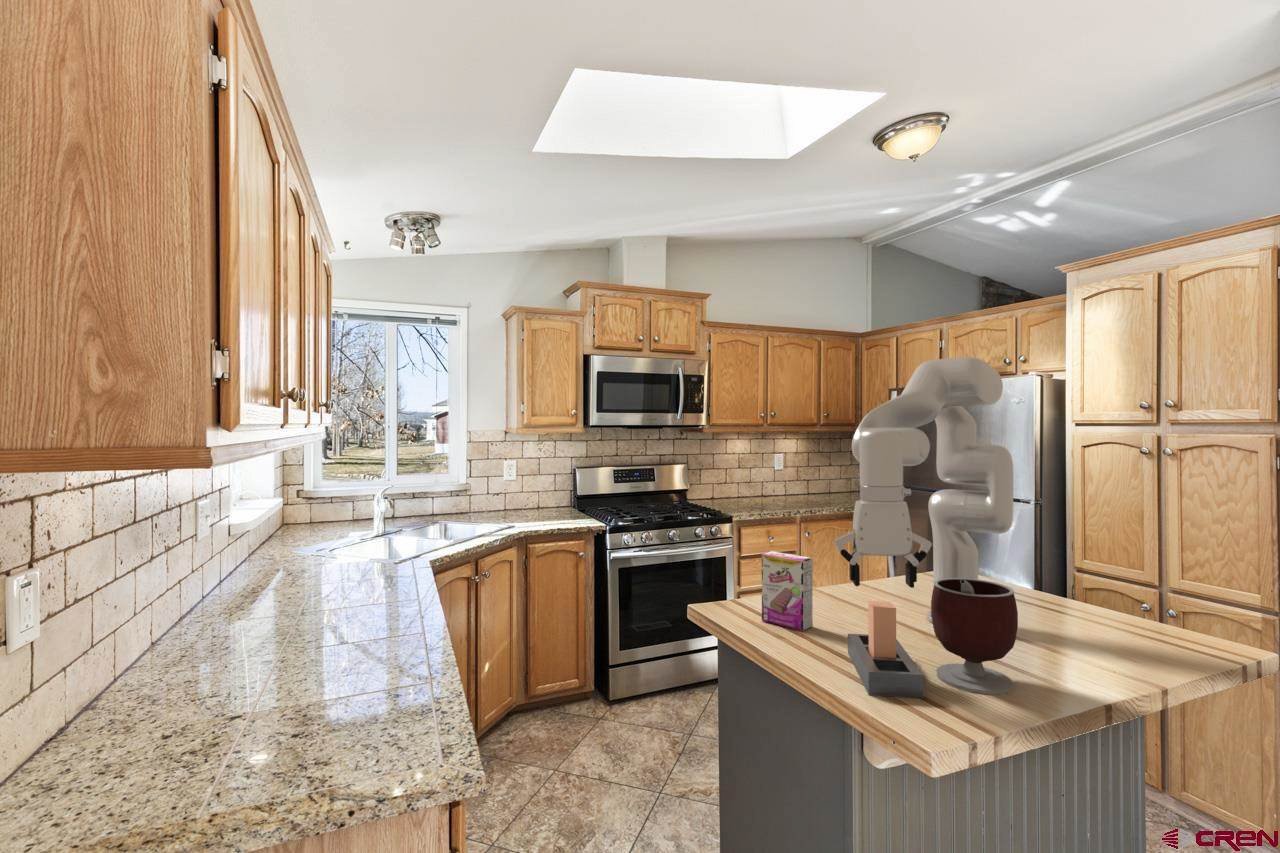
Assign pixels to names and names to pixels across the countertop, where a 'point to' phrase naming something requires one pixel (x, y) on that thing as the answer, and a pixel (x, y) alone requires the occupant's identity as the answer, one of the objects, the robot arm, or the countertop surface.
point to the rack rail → (885, 670)
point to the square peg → (882, 629)
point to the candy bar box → (787, 590)
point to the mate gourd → (974, 631)
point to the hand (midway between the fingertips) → (882, 585)
